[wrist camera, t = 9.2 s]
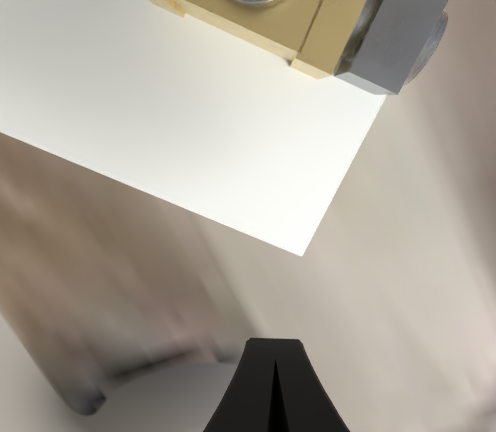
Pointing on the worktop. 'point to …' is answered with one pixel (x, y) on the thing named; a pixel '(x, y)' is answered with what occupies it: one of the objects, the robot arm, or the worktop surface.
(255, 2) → the lever
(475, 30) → the worktop surface
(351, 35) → the valve
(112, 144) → the board
